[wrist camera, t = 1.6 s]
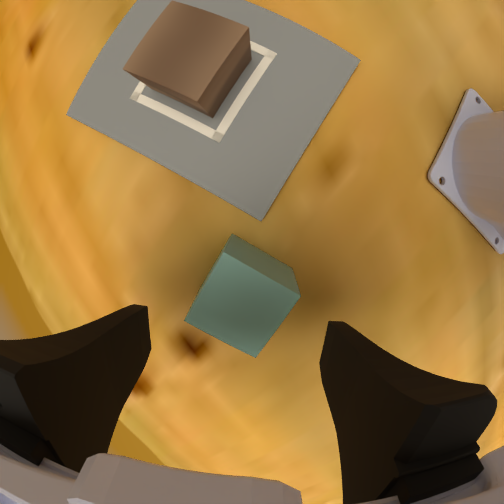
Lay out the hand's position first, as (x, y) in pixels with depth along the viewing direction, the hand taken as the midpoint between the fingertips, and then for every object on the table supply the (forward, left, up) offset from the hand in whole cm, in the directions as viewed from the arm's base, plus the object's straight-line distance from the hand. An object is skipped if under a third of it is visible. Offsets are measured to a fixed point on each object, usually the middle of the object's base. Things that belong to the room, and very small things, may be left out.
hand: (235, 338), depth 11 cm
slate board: (+8, -9, -6) cm, 14 cm away
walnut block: (+8, -9, -6) cm, 13 cm away
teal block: (0, 0, -6) cm, 6 cm away
